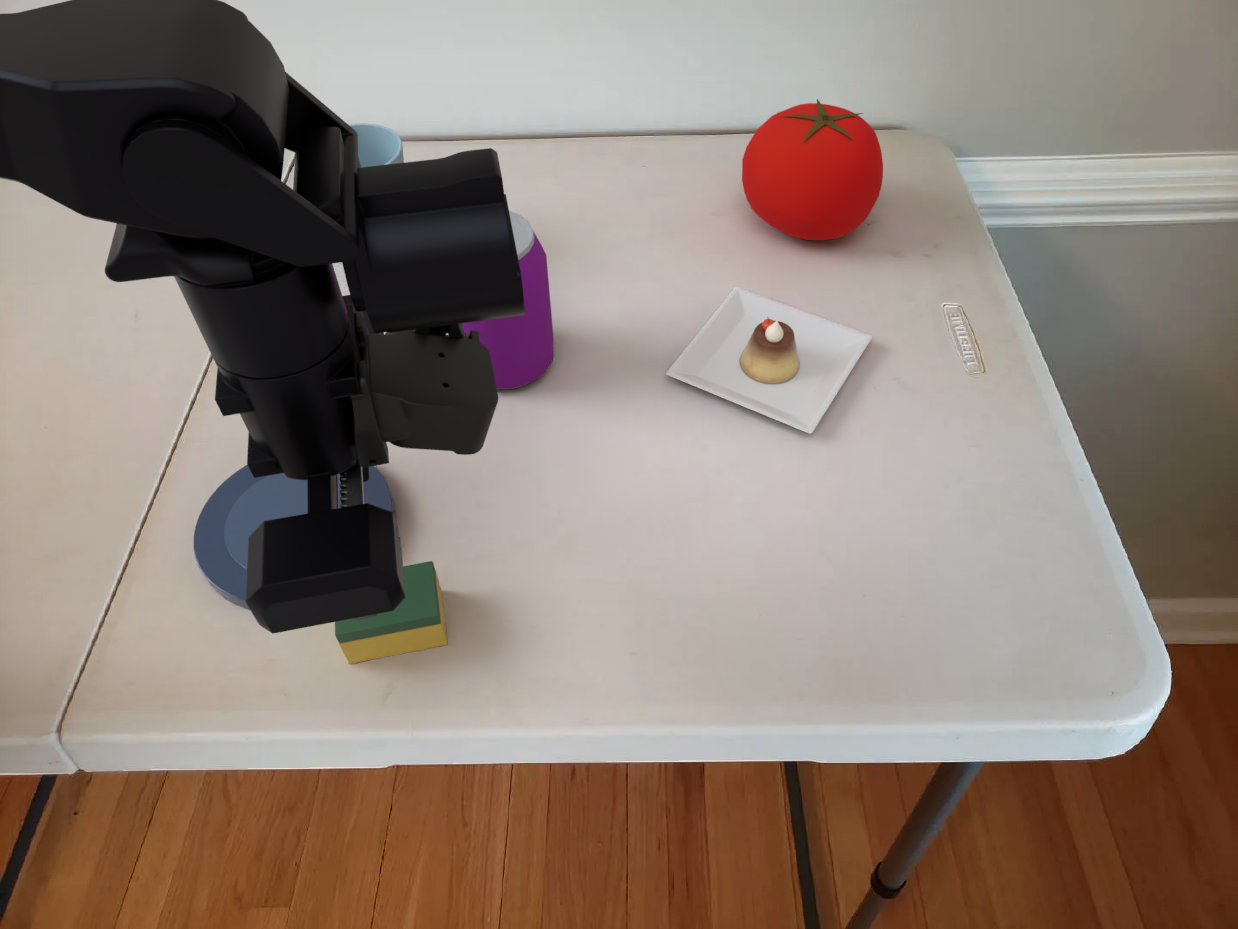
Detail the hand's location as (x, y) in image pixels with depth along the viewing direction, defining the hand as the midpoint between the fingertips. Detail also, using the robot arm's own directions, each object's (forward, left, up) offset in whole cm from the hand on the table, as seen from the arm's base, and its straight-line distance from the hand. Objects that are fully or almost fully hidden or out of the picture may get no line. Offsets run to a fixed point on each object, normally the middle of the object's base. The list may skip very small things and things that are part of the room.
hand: (363, 544), depth 51 cm
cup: (+1, +38, -9) cm, 39 cm away
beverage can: (+10, +22, -9) cm, 26 cm away
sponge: (0, 0, -9) cm, 9 cm away
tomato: (+39, +34, -9) cm, 53 cm away
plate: (-6, +9, -9) cm, 14 cm away
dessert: (+30, +17, -9) cm, 36 cm away
